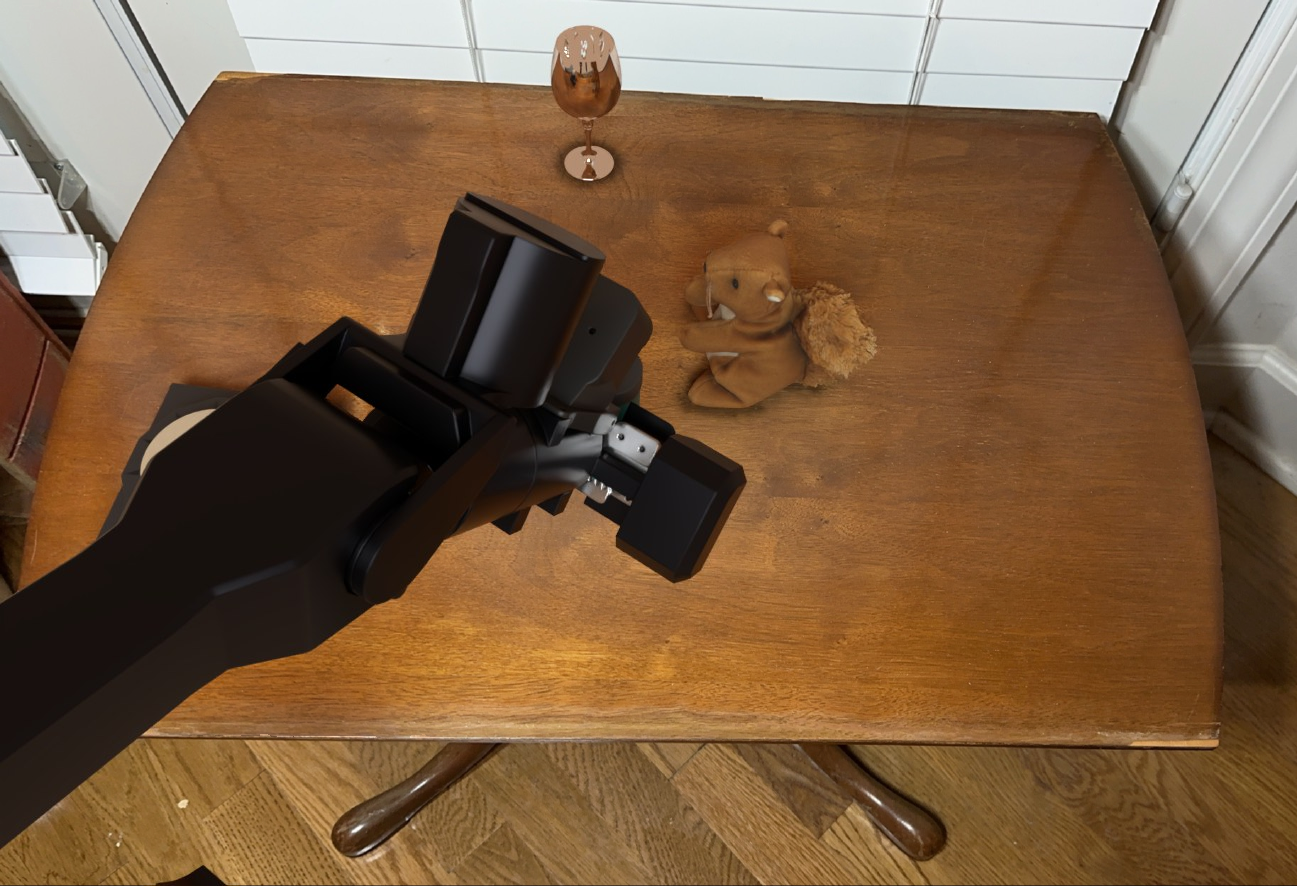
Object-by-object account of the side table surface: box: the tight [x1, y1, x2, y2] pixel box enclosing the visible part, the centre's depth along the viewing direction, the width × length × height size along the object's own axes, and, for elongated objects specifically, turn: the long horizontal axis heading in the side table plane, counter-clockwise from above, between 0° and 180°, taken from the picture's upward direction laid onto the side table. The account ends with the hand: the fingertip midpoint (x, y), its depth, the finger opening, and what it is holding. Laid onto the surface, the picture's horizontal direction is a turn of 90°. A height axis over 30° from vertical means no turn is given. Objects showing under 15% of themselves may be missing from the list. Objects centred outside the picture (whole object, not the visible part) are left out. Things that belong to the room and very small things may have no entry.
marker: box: [592, 355, 644, 480], centre depth 53 cm, size 3×3×14 cm
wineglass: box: [550, 24, 623, 182], centre depth 77 cm, size 6×6×12 cm
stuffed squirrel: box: [679, 218, 878, 409], centre depth 65 cm, size 10×14×13 cm
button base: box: [95, 382, 243, 540], centre depth 63 cm, size 14×12×3 cm
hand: (624, 417), depth 53 cm, fingers closed on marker, 3 cm apart
